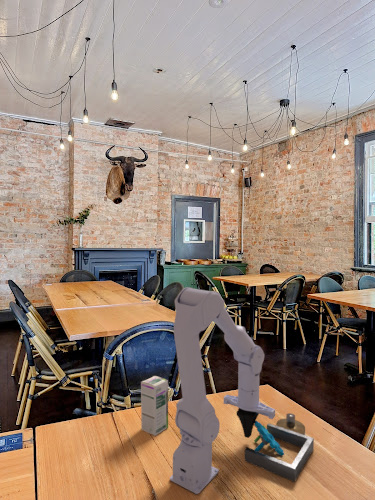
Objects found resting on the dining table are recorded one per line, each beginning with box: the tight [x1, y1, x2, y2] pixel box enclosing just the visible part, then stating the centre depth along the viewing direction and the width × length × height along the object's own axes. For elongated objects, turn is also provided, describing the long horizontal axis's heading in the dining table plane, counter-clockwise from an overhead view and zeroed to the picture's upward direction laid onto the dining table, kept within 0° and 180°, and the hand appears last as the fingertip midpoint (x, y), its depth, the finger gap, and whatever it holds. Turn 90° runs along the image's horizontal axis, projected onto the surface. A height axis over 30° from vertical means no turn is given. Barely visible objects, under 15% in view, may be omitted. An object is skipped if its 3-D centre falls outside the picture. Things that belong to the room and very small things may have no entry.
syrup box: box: [140, 375, 169, 437], centre depth 101 cm, size 6×6×14 cm
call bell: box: [275, 412, 306, 435], centre depth 100 cm, size 8×8×5 cm
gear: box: [253, 420, 285, 457], centre depth 91 cm, size 11×6×10 cm
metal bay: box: [244, 422, 315, 483], centre depth 89 cm, size 15×13×3 cm
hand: (248, 435), depth 94 cm, fingers closed
